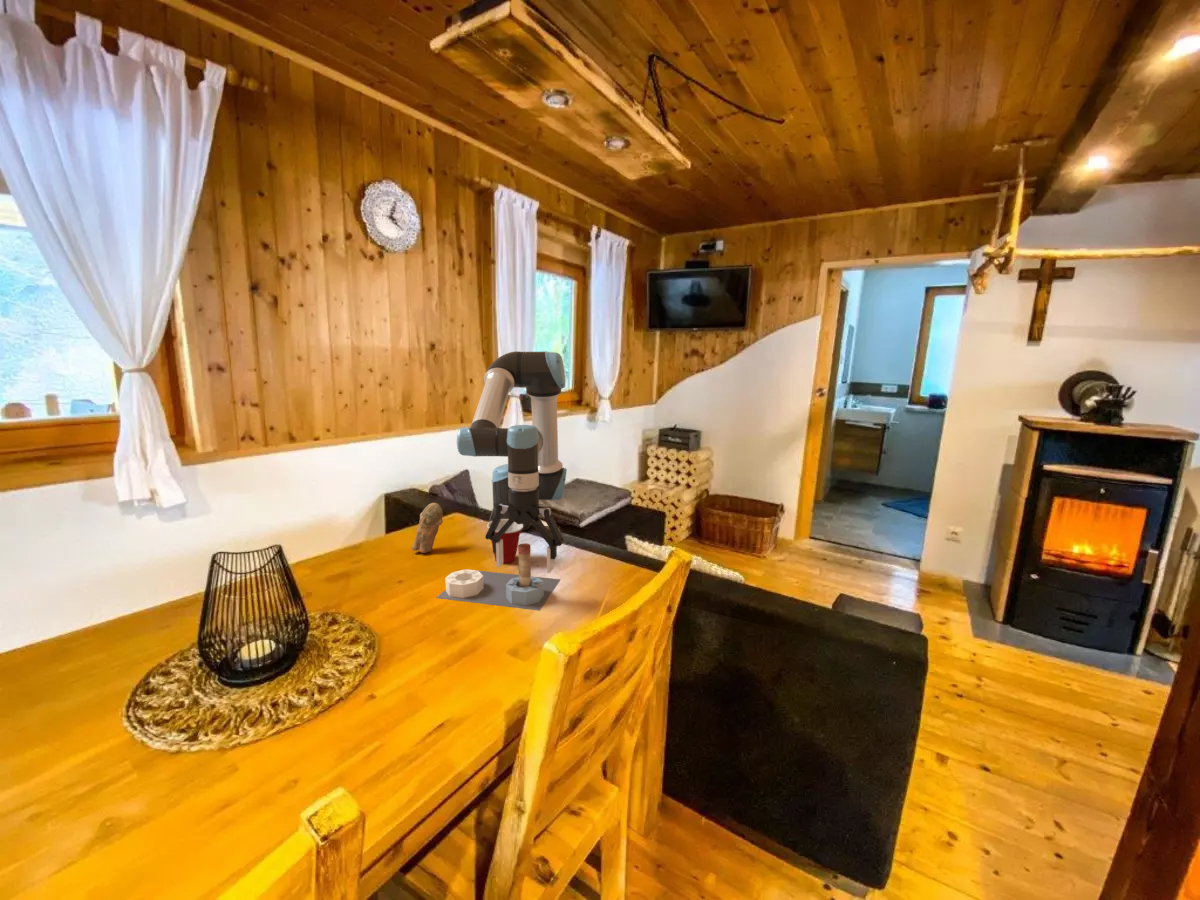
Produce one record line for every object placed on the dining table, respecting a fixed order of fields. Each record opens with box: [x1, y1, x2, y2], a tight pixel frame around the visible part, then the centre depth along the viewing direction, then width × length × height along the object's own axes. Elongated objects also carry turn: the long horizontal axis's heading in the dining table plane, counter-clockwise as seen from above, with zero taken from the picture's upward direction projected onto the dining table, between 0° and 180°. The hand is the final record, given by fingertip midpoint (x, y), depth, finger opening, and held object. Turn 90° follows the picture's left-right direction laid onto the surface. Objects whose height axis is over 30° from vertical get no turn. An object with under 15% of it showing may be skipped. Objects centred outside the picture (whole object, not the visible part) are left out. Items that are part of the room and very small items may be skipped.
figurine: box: [411, 502, 444, 554], centre depth 158 cm, size 8×8×15 cm
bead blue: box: [506, 575, 544, 606], centre depth 129 cm, size 9×9×4 cm
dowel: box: [517, 543, 532, 588], centre depth 128 cm, size 3×3×14 cm
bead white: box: [444, 568, 484, 598], centre depth 132 cm, size 9×9×4 cm
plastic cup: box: [486, 519, 523, 565], centre depth 151 cm, size 11×11×12 cm
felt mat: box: [435, 569, 561, 611], centre depth 133 cm, size 18×28×1 cm, turn 78°
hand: (524, 567), depth 128 cm, fingers open, 13 cm apart
